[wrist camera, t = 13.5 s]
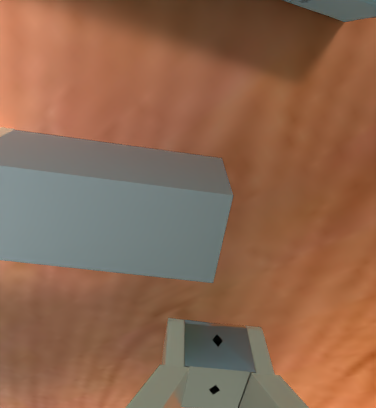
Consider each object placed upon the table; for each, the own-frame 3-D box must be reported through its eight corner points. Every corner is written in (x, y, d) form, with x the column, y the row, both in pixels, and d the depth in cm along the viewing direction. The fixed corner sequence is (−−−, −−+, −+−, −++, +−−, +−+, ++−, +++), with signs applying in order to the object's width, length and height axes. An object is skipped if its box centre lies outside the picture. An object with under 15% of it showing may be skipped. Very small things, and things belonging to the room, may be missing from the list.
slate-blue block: (233, 195, 14) (-79, 154, 13) (212, 284, 16) (-54, 255, 15) (221, 156, 18) (-10, 125, 17) (207, 231, 20) (2, 206, 20)
